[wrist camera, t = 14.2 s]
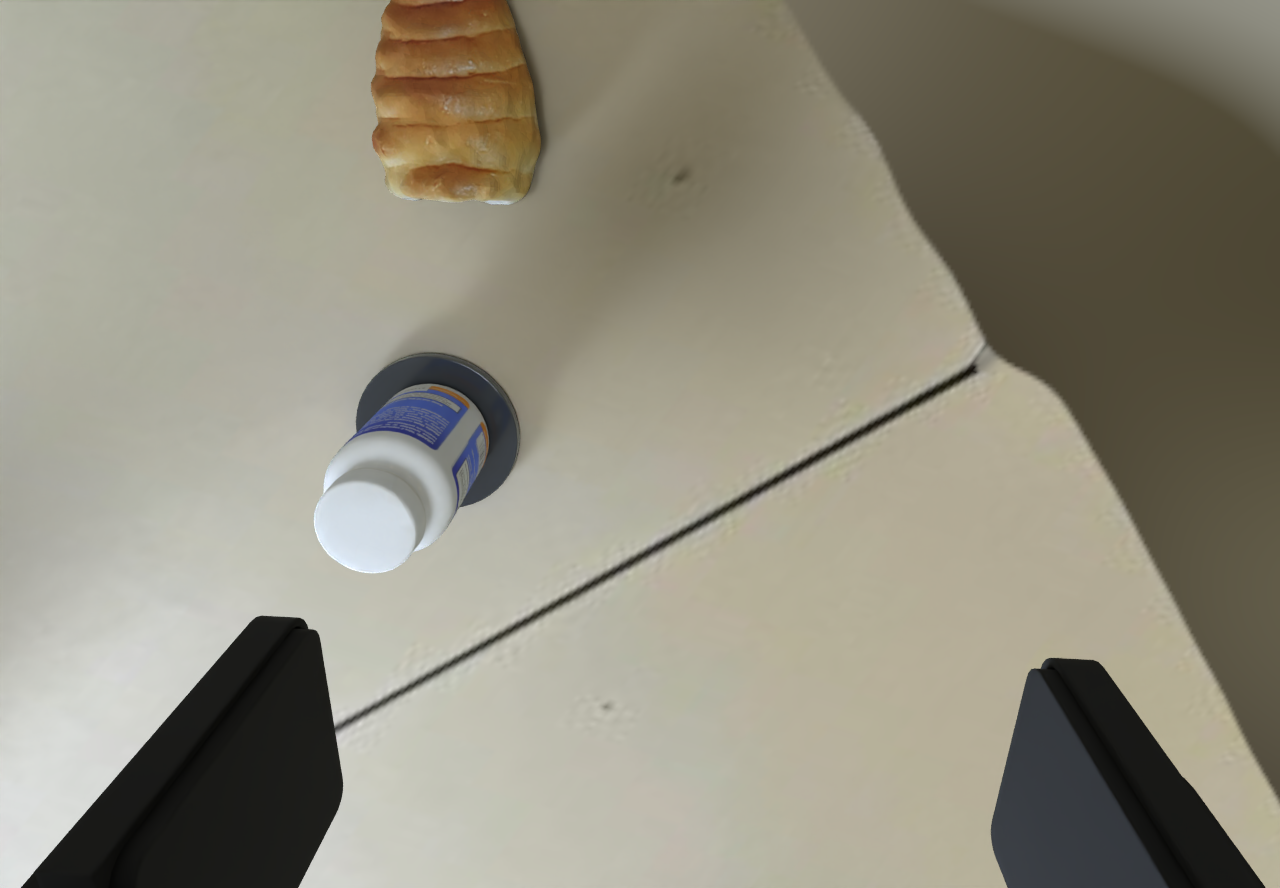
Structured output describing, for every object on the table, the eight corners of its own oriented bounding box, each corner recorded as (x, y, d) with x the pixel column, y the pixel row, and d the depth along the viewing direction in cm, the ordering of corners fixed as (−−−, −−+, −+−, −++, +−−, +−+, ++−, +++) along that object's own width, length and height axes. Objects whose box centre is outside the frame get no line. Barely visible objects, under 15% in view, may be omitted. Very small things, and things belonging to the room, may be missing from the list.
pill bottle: (360, 416, 40) (261, 507, 31) (445, 359, 38) (368, 437, 29) (429, 502, 41) (354, 612, 32) (514, 450, 40) (461, 550, 31)
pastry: (369, -42, 33) (331, -59, 29) (537, -44, 32) (518, -62, 29) (397, 202, 36) (365, 212, 33) (548, 202, 36) (532, 213, 32)
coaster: (350, 349, 39) (346, 353, 39) (516, 355, 39) (513, 359, 38) (369, 499, 42) (365, 505, 42) (523, 506, 42) (520, 512, 41)
